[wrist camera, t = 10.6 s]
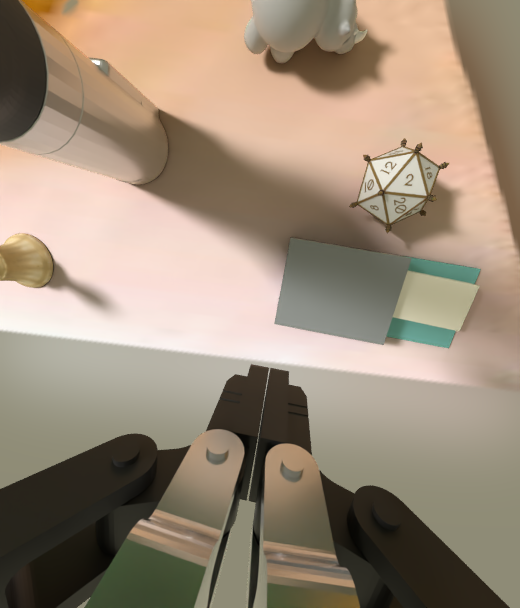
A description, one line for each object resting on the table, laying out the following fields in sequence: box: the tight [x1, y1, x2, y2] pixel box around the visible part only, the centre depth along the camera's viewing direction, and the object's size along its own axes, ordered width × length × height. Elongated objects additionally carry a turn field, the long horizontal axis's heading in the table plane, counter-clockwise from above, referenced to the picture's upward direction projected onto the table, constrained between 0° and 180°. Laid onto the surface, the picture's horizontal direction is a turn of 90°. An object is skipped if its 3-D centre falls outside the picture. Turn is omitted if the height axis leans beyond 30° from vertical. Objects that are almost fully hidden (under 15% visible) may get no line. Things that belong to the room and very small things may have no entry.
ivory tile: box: [393, 270, 480, 331], centre depth 33 cm, size 6×9×2 cm, turn 79°
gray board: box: [274, 237, 412, 345], centre depth 33 cm, size 11×14×4 cm
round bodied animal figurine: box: [244, 0, 367, 63], centre depth 25 cm, size 7×12×8 cm, turn 76°
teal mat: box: [387, 256, 481, 348], centre depth 34 cm, size 11×10×1 cm
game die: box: [349, 138, 449, 233], centre depth 28 cm, size 9×8×10 cm
